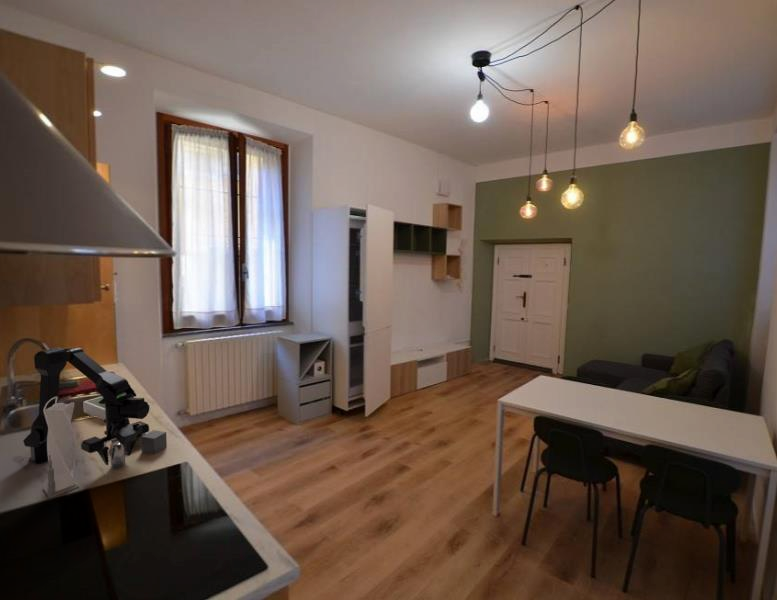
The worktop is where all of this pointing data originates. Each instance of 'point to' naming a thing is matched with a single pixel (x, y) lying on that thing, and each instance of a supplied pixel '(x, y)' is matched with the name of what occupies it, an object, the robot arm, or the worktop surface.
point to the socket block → (137, 444)
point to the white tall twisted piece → (60, 448)
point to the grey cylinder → (117, 455)
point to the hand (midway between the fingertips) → (118, 459)
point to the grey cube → (154, 442)
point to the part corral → (95, 408)
